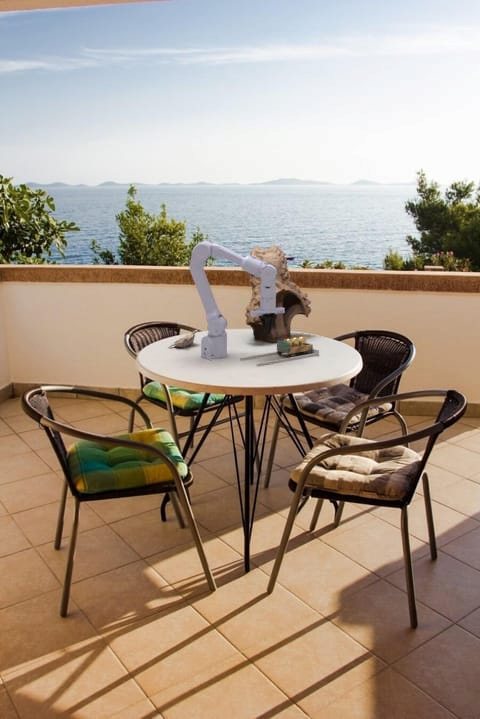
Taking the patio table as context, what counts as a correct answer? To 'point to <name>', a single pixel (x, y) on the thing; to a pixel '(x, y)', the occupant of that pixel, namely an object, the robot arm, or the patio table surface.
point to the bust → (285, 297)
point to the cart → (286, 348)
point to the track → (314, 353)
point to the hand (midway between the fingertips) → (267, 333)
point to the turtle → (185, 340)
